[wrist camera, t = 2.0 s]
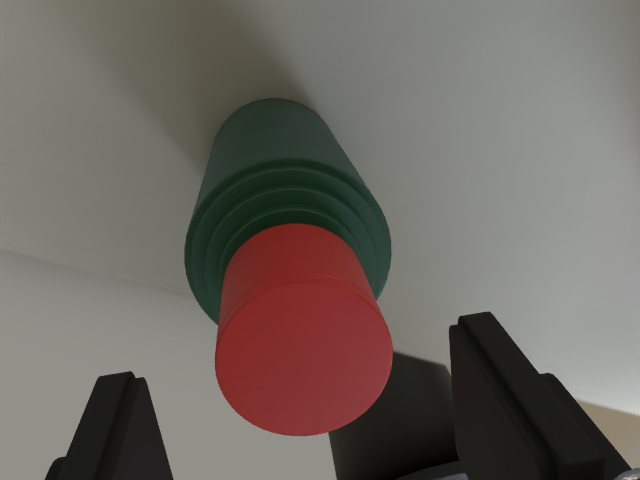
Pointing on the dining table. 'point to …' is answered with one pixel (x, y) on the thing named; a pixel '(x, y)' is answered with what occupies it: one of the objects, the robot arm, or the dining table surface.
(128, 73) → the dining table surface
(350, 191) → the bottle
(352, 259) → the cap
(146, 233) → the dining table surface
